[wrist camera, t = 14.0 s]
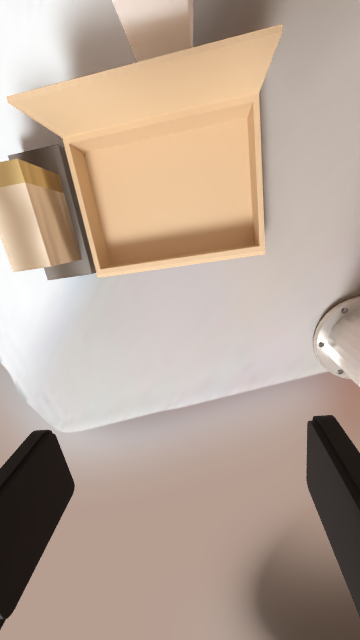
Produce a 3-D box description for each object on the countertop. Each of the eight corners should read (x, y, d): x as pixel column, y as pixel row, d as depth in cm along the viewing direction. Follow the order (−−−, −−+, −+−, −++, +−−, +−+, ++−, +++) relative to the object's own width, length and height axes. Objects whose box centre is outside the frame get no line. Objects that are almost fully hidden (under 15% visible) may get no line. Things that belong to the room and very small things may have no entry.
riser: (71, 152, 31) (57, 144, 29) (100, 270, 36) (91, 273, 33) (25, 162, 32) (7, 155, 29) (59, 276, 37) (47, 280, 34)
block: (59, 174, 30) (17, 158, 23) (81, 259, 33) (50, 266, 26) (25, 181, 30) (-25, 167, 24) (50, 264, 33) (13, 272, 27)
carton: (251, 107, 28) (282, 23, 17) (258, 251, 33) (285, 261, 22) (78, 145, 31) (6, 96, 20) (109, 273, 36) (65, 291, 25)
